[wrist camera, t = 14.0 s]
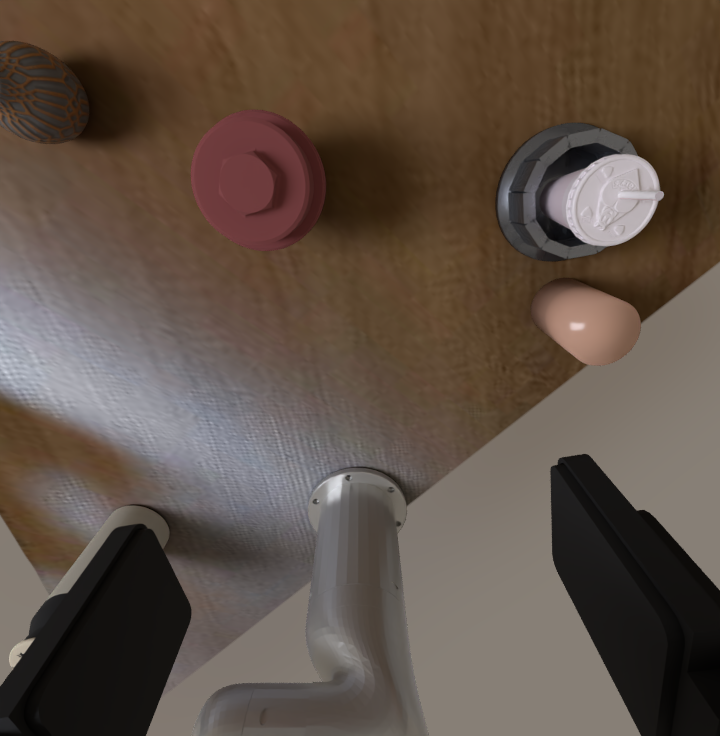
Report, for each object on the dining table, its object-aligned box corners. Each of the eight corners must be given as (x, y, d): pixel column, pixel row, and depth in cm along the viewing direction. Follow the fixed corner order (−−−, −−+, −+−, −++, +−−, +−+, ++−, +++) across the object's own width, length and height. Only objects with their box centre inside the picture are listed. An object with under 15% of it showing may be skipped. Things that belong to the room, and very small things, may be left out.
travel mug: (138, 493, 55) (41, 627, 38) (183, 532, 57) (110, 674, 41) (96, 522, 56) (-13, 661, 40) (141, 558, 59) (56, 704, 42)
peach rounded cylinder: (588, 328, 46) (638, 359, 38) (531, 338, 46) (569, 371, 38) (589, 272, 44) (642, 293, 35) (529, 283, 44) (569, 306, 36)
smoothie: (608, 179, 39) (728, 176, 27) (568, 245, 42) (660, 271, 29) (549, 148, 38) (644, 128, 26) (511, 217, 41) (581, 231, 28)
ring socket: (620, 247, 43) (650, 254, 38) (499, 270, 43) (515, 279, 39) (626, 110, 38) (661, 100, 34) (491, 139, 39) (508, 133, 34)
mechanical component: (203, 185, 40) (271, 97, 38) (284, 261, 43) (353, 183, 40) (142, 185, 29) (233, 58, 26) (257, 287, 32) (350, 182, 29)
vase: (19, 128, 39) (-71, 113, 30) (25, 41, 36) (-72, 0, 28) (97, 159, 40) (29, 152, 31) (108, 77, 37) (38, 46, 29)
